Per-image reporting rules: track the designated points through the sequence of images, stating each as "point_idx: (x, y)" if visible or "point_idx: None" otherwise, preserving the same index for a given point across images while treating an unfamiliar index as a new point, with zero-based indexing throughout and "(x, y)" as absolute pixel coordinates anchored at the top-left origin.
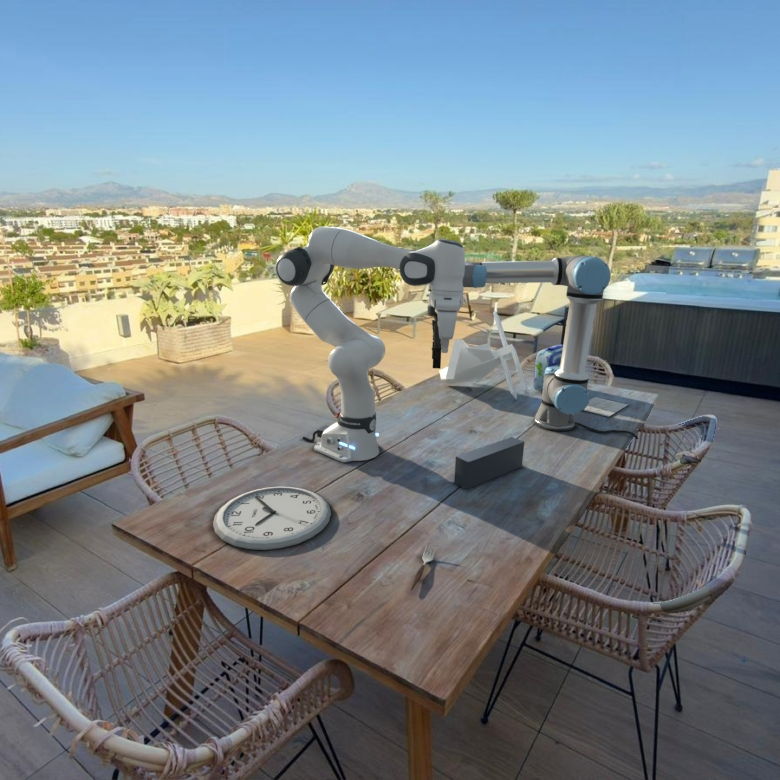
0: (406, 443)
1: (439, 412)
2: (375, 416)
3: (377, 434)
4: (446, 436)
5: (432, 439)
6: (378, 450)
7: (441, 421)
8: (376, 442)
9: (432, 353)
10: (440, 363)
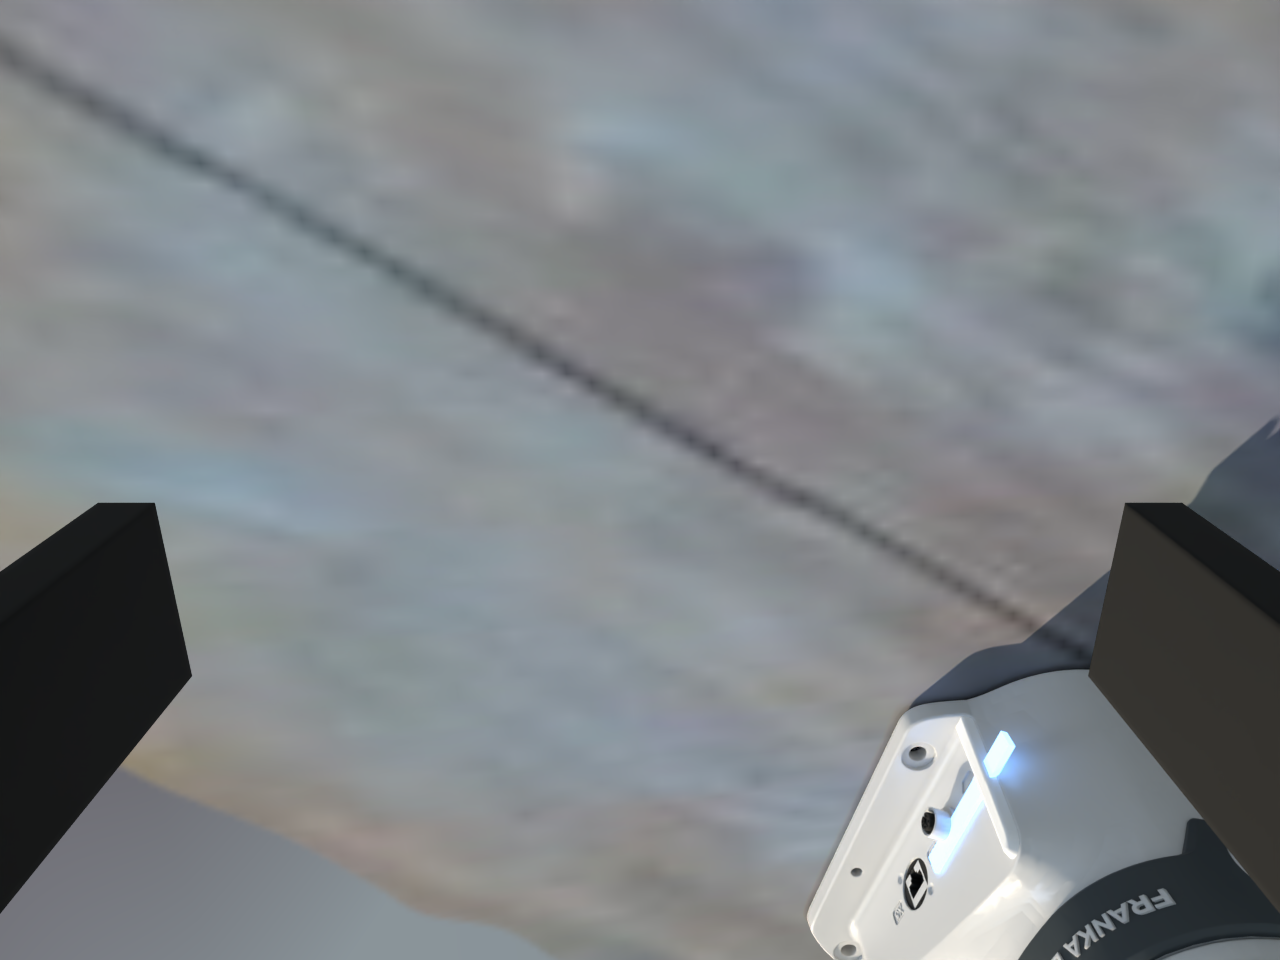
0: (905, 495)
1: (91, 201)
2: (1275, 913)
3: (1008, 746)
4: (742, 154)
5: (818, 288)
6: (1093, 683)
7: (352, 189)
8: (1125, 734)
9: (109, 763)
10: (1272, 570)
